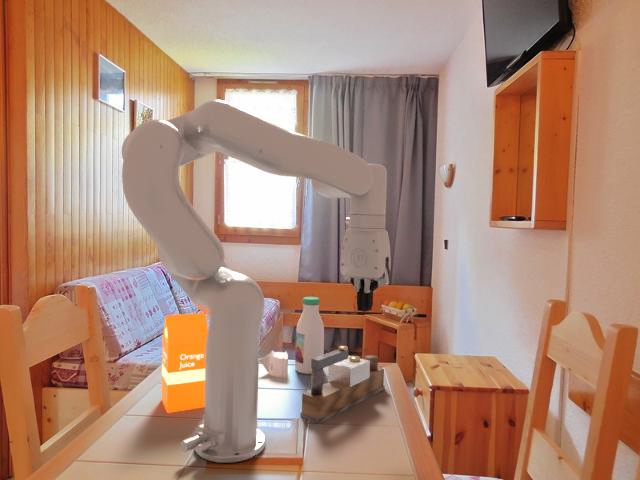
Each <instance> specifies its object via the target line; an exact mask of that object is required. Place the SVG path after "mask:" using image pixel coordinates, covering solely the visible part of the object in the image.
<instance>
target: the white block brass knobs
mask: <svg viewBox="0 0 640 480" xmlns="http://www.w3.org/2000/svg"><path fill="white" fill-rule="evenodd" d="M327 374H328V377H327V381H328V382H330V381H332V382H335V383H338V384H342V385H345V386H348V387H351V386H353V385H355V384H357V383H360V382H362V381H364V380H366V379H368V378H369V376H370V361H368V360H365V358H361V357H360V356H359V355H348V359H345V360H343V361H340V362H338V363H335V364H332V365H330V366H328V373H327Z"/></svg>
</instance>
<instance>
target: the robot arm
mask: <svg viewBox="0 0 640 480" xmlns="http://www.w3.org/2000/svg"><path fill="white" fill-rule="evenodd" d="M214 153H220V154H222V155H225V156H227V157H230V158H232V159H235V160H237V161H240V162H242V163H244V164H246V165H248V166H251V167H254V168H255V169H258V170H261V171H263V172H265V173H268V174H270V175H271V174H272V175H277V176H281V177H293V178H301V179H306V180H310V181H311V186H312V188H313V189H314V191H315V192H316V193H317V194H318V195H320V196H321V197H324V198H326V199H345V198H349V215H348V217H346V218H345V220H344V222H345V224H347V225H348V227H349V228H348V229H345V231H344V235H343V236H344V237H343V241H342V245H341V246H342V247H341V251H340V252H341V254H340V264H339V265H340V267H339V270H340V274H341V275H343V277H342V278H343V280H344V281H345V282H348V283H351V285H352V286H353V287H354V291H355V292H356V306H357V311H358V312H364V313H366V312H370V311H371V310H373V305H374V292H376V290H377V289H378V288H379V287H381V286H387V285H389V284H390V275H391V267H392V266H391V265H392V264H391V260H392V258H391V256H392V255H391V245H390V237H389V233H388V231H387V230H386V219H387V218H386V217H387V215H386V214H387V213H386V212H387V188H388V187H387V186H388V185H387V184H388V171H387V168H386V167H385V165H382V164H378V163H368V162H367V161H366V160H365V159H363V158H362V157H361V156H359V155H358V154H355V153H353V152H351V151H350V150H348V149H346V148H343V147H341V146H339V145H337V144H334V143H331V142H328V141H325V140H322V139H317V138H315V137H311V136H308V135H305V134H302V133H298V132H294V131H290V130H287V129H285V128H283V127H281V126H278V125H276V124H274V123H272V122H270V121H268V120H266V119H263V118H262V117H260V116H259V115H255V114H254V113H251V112H250V111H247V110H245V109H243V108H241V107H239V106H237V105H234V104H233V103H231V102H228V101H225V100H221V99H211V100H209V101H208V100H207V101H206V102H204V103H202V104H201V105H199V106H198V107H197V106H196V108H195V109H192V110H191V111H189V112H188V111H187V113H183V114H181V115H179V116H176V117H173V118H170V119H168V120H163V119H149V120H146V121H144V122H142V123H140V124H139V125H137V126H136V127H135V128H134V129H133V130H132V131H131V132H130V133H129V134H128V135H126V136H125V139H124V140H123V142H122V145H121V158H122V161H123V162H122V168H121V177H122V178H121V181H122V190H123V195H124V196H125V197H124V198H125V201H126V203H127V205H128V207H129V209H130V210H131V213H132V214H133V216H134V217H135V219H136V220H137V221H138V222H139V224H140V225H141V226H142V228H143V229H144V230H145V232H146V233H147V234H148V236H149V237H150V238H151V240H152V241H153V242H154V244H155V245H156V246H157V255H158V256H157V257H158V259H159V262H160V263H161V265H162V266H163V268H164V269H165V270H166V272H167V274H169V276H170V277H171V278H172V279H173V280H174V282H175V283H176V284H177V285H178V286H179V288H181V290H182V291H183V293H185V295H186V296H187V297H188V298H189V299H190V300H191V302H192V303H193V304H194V305H195V306H196V307H197V308H198V310H200V311H201V313H205V314H206V316H208V317H209V323H208V333H207V339H206V348H205V402H204V407H203V409H204V413H203V423H202V424H200V425H199V426H198V432H196V433H195V435H194V436H191V437H188V438H185V439H183V440H182V441H180V445H179V446H180V450H181V451H182V452H183V453H187V452H190V451H192V450H193V449H194V450H195V453H196V454H197V455H198V456H199V457H201V458H202V459H204V460H207V461H210V462H215V463H220V464H222V463H223V464H224V463H225V464H226V463H227V464H228V463H229V464H230V463H237V462H242V461H246V460H249V459H251V458H253V456H254V457H256V456H257V455H259V454H260V453H262V451H263V450H264V449H265V446H266V436H265V434H264V433H263V432H262V430H261V429H259V428H258V403H259V402H258V401H259V397H258V396H259V366H260V365H259V364H260V363H259V359H260V357H259V355H260V337H261V330H262V323H263V319H264V314H265V296H264V293H263V290H262V289H261V286H259V284H258V282H257V281H255V280H254V279H252V277H250V276H247V274H243V273H240V272H237V271H234V270H232V269H231V268H230V267H229V266H228V265H227V264H226V263H225V250H224V247H223V243H222V242H221V240H220V239H219V237H218V236H217V235H216V233H215V232H214V231H213V230H212V229H211V228H210V226H209V224H207V223H206V221H205V220H204V219H203V218H202V216H201V215H200V214H199V212H198V211H197V210H196V208H195V207H194V206H193V204H192V203H191V202H190V199H189V198H188V197H187V195H186V193H185V192H184V191H183V188H182V186H181V183H180V176H179V175H180V174H179V173H180V167H182V166H185V165H188V164H190V163H193V162H195V161H198V160H199V159H202V158H205V157H206V156H209V155H211V154H214ZM255 455H256V456H255Z"/></svg>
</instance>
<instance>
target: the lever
mask: <svg viewBox="0 0 640 480" xmlns="http://www.w3.org/2000/svg"><path fill="white" fill-rule="evenodd" d="M348 348H349V347H348V346H347V345H339V346H338V348H337V349H336V350H333V351H329V352H326V353H324V355H321V356H318V357H315V358H312V359H311V368H312V374H311V380H310V382H311V383H310V384H311V385H310V390H311V394H312V395H322V391H323V384H324V369H325V368H327V367H329V366H330V365H332V364H335V363H338V362H340V361H343V360H345V359H348V356H349V349H348Z"/></svg>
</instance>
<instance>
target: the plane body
mask: <svg viewBox="0 0 640 480" xmlns="http://www.w3.org/2000/svg"><path fill="white" fill-rule="evenodd" d="M364 359H365V360H368V361H370V376H369V378H368V379H366V380H364V381H362V382H360V383H357V384H355V385H353V386H351V387H348V386H345V385H342V384H338V383H335V382H332V381H328V382H326V383H323V391H322V395H312V394H311V389H310V390H307V391H305V392H302V394H301V398H302V399H301V401H302V402H301V412H300V417H301V418H304V419H306V420H308V421H312V422H314V423H317V424H319V425H320V424H322V423H324V422H327V421H329V419H331V418H333V417H335V416H338V415H339V414H340V413H342V412H345V411H346V410H348V409H350V408H353V406H356V405H358V404H360V403H361V402H363V401H365V400H366V399H369V398H370V397H372V396H374V395H377V394H378V393H380V392H382V391H383V390H385V389H386V387H385V385H384V384H385V383H384V378H385V369H384V368H382V367H378V365H379V357H378V356H376V355H374V354H373V355H371V354H369V355H365V356H364Z"/></svg>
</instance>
